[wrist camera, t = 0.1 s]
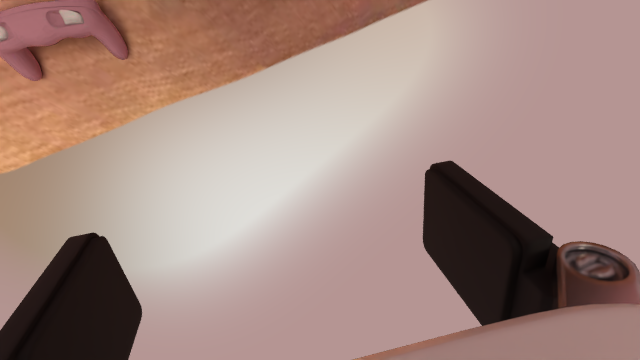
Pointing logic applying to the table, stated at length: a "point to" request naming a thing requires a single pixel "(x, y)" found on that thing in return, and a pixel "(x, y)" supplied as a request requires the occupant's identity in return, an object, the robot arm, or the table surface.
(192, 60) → the table surface
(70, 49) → the table surface
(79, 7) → the video game controller
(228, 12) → the table surface
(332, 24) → the table surface
